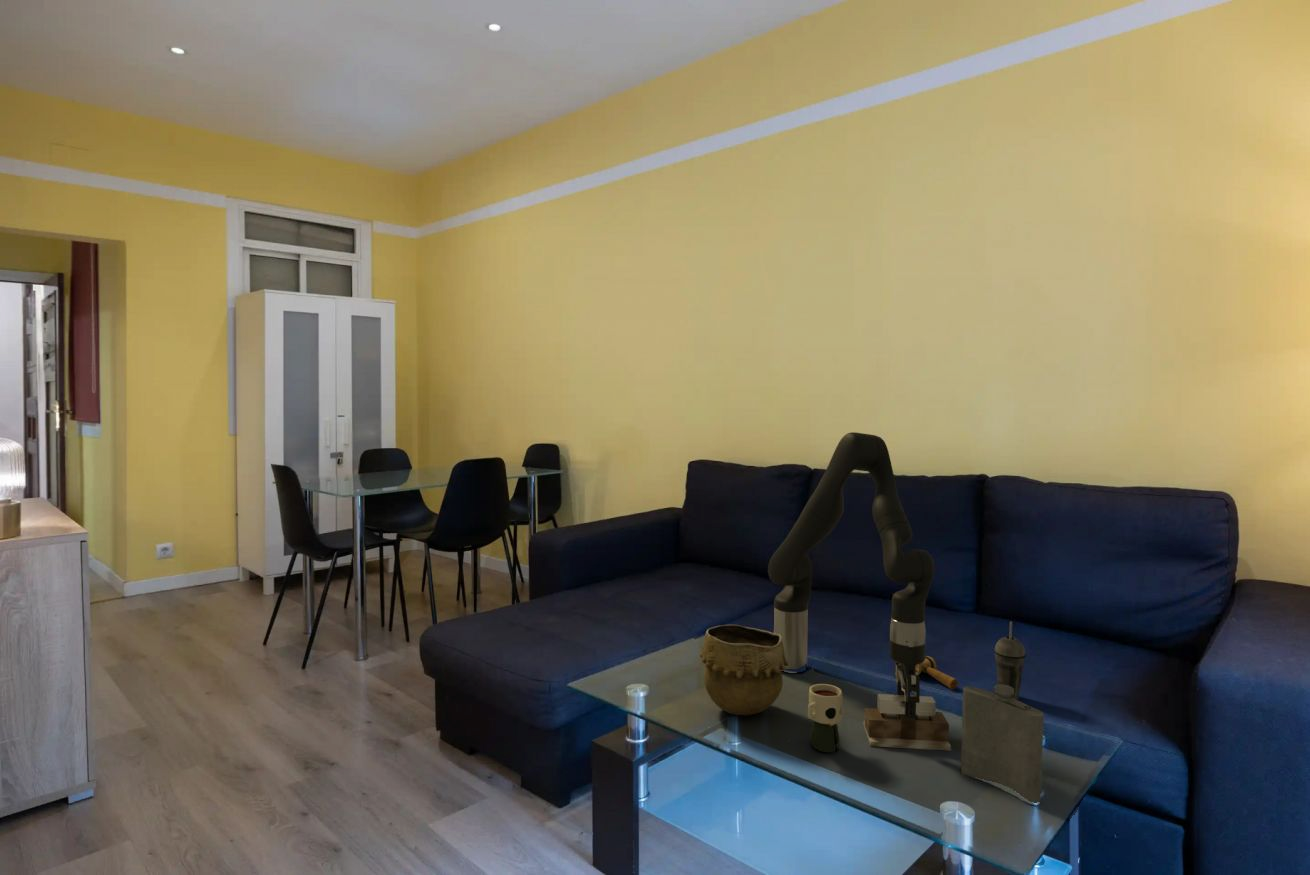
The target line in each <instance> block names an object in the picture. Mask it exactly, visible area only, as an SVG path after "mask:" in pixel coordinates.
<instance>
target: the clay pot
mask: <svg viewBox="0 0 1310 875" xmlns="http://www.w3.org/2000/svg"><path fill="white" fill-rule="evenodd" d="M701 648H702V649H701V651H700V653H699V657H700V659H701V661H702V663H703V664H705V668H704V669H705V670H704V676H703V677H704V678H703V680H704V686H705V690H706V692H707V694H708V697H710V699H711V700H712V702H713V703H714V704H715V705H716V706H717V707H718V708H719V709H721V710H722V711H724V712H726V713H728V714H730V715H734V716H735V715H736V716H753V715H755V714H758V713H761V712H764V711H765V710H768V708H769V707H770V706H772V705H773V704H774V703H775V701H776V700H777V699H778V697H779V696H780V694H781V692H782V689H783V682H784V681H783V675H782V674H783V672H781V670H782V671H784V670H785V666H788V664H789V663H788V662H787V661H786V658H785V654H784V646H783V641H782V637H781V635H780V634H774V632H771V631H768V630H763V629H759V628H754V627H747V626H743V625H739V624H722V625H721V624H720V625H717V626H712V627H710V628H708V629H706V631H705V635H704V639H703V644H702V647H701Z"/></svg>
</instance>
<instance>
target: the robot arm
mask: <svg viewBox="0 0 1310 875" xmlns="http://www.w3.org/2000/svg"><path fill="white" fill-rule="evenodd" d="M853 471H861V472H868V473H869V474H870V477H871V478H872V480H873V482H874V487H875V490H874V492H875V493H874V498H873V502H872V507H871V509H872V516H873V521H874V523H875V526H876V529H877V531H878V535H879V537H880V539H881V545H882V547H881V548H882V555H883V558H882V559H883V568H884V573H885V575H886V576H887V578H888V579H890V580H891V582H893V583H896V584H905V583H906V584H907V583H908V584H907V586H906V587H905V588H903V589H901V590H899V591H896V592H894V593H893V594H892V597H891V616H890V617H891V618H890V619H891V620H890V626H889V657H890V659H891V660H892V661H894V675H893V676H894V678H895V683H896V695H904V696H905V698H904V699H905V717H906V718H915V717H916V703H919V701H920V699H919V696H920V691H921V690H920V687H921V686H920V682H921V681H920V679H921V677H920V674H918V671H917V670H915V666H916V665H917V664H921V663H923V662H924V661H925V656H926V635H927V634H926V633H927V632H926V621H925V620H926V619H925V618H926V617H925V614H926V600H927V598H928V596H929V592H930V588H931V585H932V581H933V579H934V575H935V562H934V559H933V557H932V556H931V554H930V553H929V552H928V551H926V550H924V549H908V550H907V549H906V550H901V548H900V547H902V546H904V545H906V544H908V543H909V542H911V541H912V539H913V531H912V527H911V524H910V522H909V520H908V518H907V515H906V513H905V510H904V508H903V505H902V503H901V500H900V497H899V492H898V490H897V484H896V479H895V474H894V470H893V465H892V461H891V457H890V453H889V450H888V447H887V444H886V442H885V440H884V439H883V438H882V437H881V436H878V435H875V434H869V433H863V432H862V433H861V432H856V431H854V432H847V433H846V434H845V435H843V436H842V437H841V439H840V440H839V441H838V444H837V445H836V447H835V449H834V452H833V454H832V456H831V459H830V460H829V463H828V465H827V467H826V469H825V472H824V474H823V475H822V477H821V479H820V481H819V483H818V485H817V486H816V487H815V490H814V492H813V493H812V494H811V495H810V498H809V500H807V503H806V504H805V506H804V508H803V509H802V511H801V512H800V515H799V516H798V519H797V520H796V522H794V524H793V527H792V528H791V530H790V531H789V533H788V535H786V537H785V539H784V540H783V542H782V543H781V544H780V545H779V547H778V548H777V549H776V550H775V552H774V553H773V554H772V556H771V558H770V559H769V562H768V565H767V566H768V567H767V573H768V577H769V580H770V581H771V582H772V583H773V584H775V585H777V586H781V587H783V588H782V590H781V591H780V592H779V593H778V594H777V595H775V597H774V601H773V606H774V608H773V610H774V616H773V617H774V618H773V620H774V622H773V633H774V634H780V635H781V637H782V641H783V646H784V654H785V658H786V661H787V662H788V663H789V664H788V666H785V669H798V668H800V667H802V666H804V665H805V664H806V663H807V664H808V620H809V619H808V618H809V616H808V614H809V613H808V612H809V611H808V610H809V609H808V608H809V607H808V605H809V603H810V602H809V601H810V599H811V595H812V582H813V581H812V580H813V566H812V565H813V564H812V561H811V558H810V557H809V554H808V552H809V551H811V550H812V549H813V548H814V547H816V546H817V545H818V544H819V543H821V542H822V541H823V540H825V539H826V538H827V537H828V536H829V535H830V534H831V533H832V532H833V531H834V529H835V527H836V525H837V524H838V523H839V521H840V519H841V518H842V516H843V514H844V511H845V500H844V498H845V497H844V485H845V484H846V481H847V479H848V477H850V475H851V473H852V472H853ZM911 693H913V694H912V695H911Z"/></svg>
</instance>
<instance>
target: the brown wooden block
mask: <svg viewBox="0 0 1310 875" xmlns="http://www.w3.org/2000/svg"><path fill="white" fill-rule="evenodd" d="M862 722H863V728H864V731H865V735H866V736H867V740H868V743H869V746H870V747H882V748H883V747H884V748H885V747H886V748H901V749H916V750H919V749H920V750H935V751H936V750H937V751H949V752H951V751H952V746H951V744H950V742H949V736H950V735H949V731H950V730H949V729H950V726H949V725H950V724H949V722H948V720H947V719H946V717H945V715H944V713H943V711H936V716H929V721H923V720H915V718H906V717H905V714H896V719H886V718H883V713H880V712H879V710H878V708H876V707H875V708H874V707H873V708H872V707H864V720H863V721H862Z"/></svg>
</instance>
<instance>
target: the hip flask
mask: <svg viewBox="0 0 1310 875" xmlns="http://www.w3.org/2000/svg"><path fill="white" fill-rule="evenodd" d="M1013 694H1014V688H1012V687H1010V686H1008V685H1003V684H998V683H997V684H995V685H994V686H993V691H990V690H986V689H982V688H979V687H975V686H970V685H967V686H963V688H962V714H961V716H962V717H961V720H962V721H961V755H960V757H961V758H960V773H962V774H963V773H964V774H963V775H965V776H967V775H969V776H968V777H970V776H973V777H977V778H980V779H984V780H987V781H992V782H996V783H999V784H1002V785H1004V786H1007V787H1009V788H1011V789H1013V790H1014V791H1016V792H1017V793H1019V794H1020V795H1021V796H1023V797H1024V798H1025V799H1027V800H1028V801H1030V802H1034V803H1037V802H1040V801H1042V800H1041V799H1042V777H1043V776H1042V774H1043V773H1042V772H1043V771H1042V770H1043V746H1044V745H1043V744H1044V743H1043V742H1044V716H1045V714H1044V712H1043V711H1041V710H1039V709H1037V708H1035V707H1033V706H1030V705H1028V704H1026V703H1024V702H1022V701H1019V699H1018V700H1016V699H1013ZM973 777H972V778H973Z"/></svg>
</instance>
